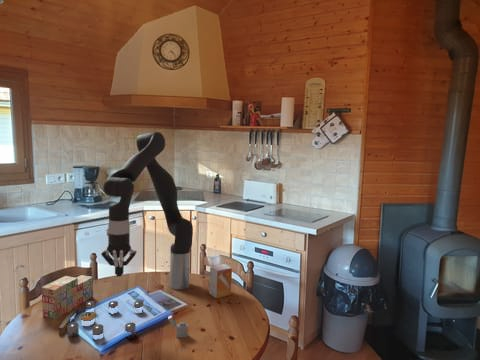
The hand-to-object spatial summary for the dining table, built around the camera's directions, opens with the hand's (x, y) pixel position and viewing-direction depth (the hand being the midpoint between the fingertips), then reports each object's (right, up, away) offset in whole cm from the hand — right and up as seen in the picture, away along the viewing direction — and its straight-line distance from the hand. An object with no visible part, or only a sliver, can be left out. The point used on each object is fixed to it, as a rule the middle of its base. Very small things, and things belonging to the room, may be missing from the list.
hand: (119, 275), depth 140 cm
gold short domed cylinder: (-12, -18, +1) cm, 22 cm away
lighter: (+23, -21, -5) cm, 31 cm away
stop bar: (-19, -18, 0) cm, 27 cm away
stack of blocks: (-25, -17, +14) cm, 33 cm away
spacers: (-5, -19, +1) cm, 19 cm away
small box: (+36, -17, +31) cm, 51 cm away
